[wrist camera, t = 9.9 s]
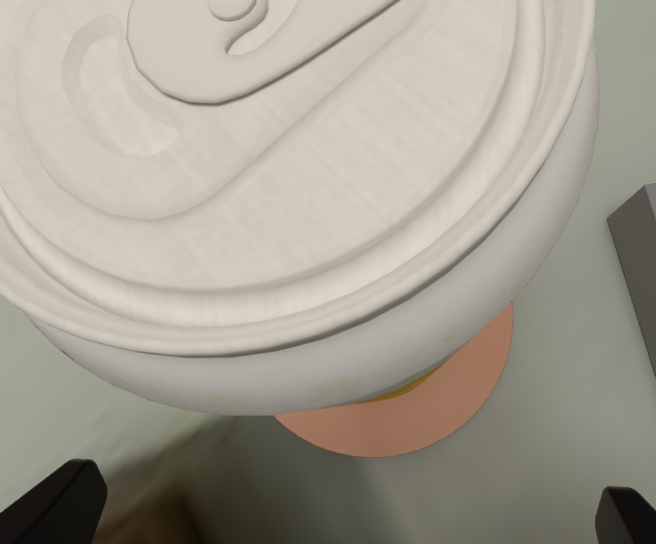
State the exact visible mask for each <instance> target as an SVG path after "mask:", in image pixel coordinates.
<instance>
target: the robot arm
mask: <svg viewBox="0 0 656 544" xmlns="http://www.w3.org/2000/svg"><path fill="white" fill-rule="evenodd" d="M106 499H107V486H106V483H105V481H104V479H103V477H102V475H101V473H100V471H99V469H98V466H97V464H96V463H95V462H94V461H93V460H91V459H72V460H69V461H68V462H66V463H65V464H63V465H62V466H61V467H60V468H58V469H57V470H56V471H54V472H53V473H52V474H50V475H49V476H48V477H46V478H45V479H44V480H43V481H41V482H40V483H39V484H37V485H36V486H35V487H33V488H32V489H31V490H30V491H28V492H27V493H26V494H24V495H23V496H22V497H20V498H19V499H18V500H17V501H15V502H14V503H13V504H11V505H10V506H9V507H7V508H6V509H5V510H4V511H2V512H1V513H0V544H91V543H92V540H93V537H94V534H95V531H96V528H97V525H98V522H99V520H100V517H101V514H102V511H103V508H104V505H105V502H106ZM595 527H596V533H597V538H598V542H599V544H656V510H655V509H654V508H653V507H652V506H651V505H650V504H649V503H648V502H647V501H646V500H645V499H644V498H643V497H642V496H641V495H640V494H639V493H638V492H637V491H636V490H634V489H632V488H629V487H616V486H607V487H606V488H605V489H604V490H603V492H602V496H601V499H600V503H599V506H598V510H597V513H596V517H595Z"/></svg>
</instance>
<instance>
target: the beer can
mask: <svg viewBox="0 0 656 544" xmlns="http://www.w3.org/2000/svg"><path fill="white" fill-rule="evenodd" d="M595 3H596V0H0V295H1V296H2V297H4V298H5V299H6V300H8V301H9V302H10V303H11V304H13V305H14V306H16V307H17V308H19V309H21V310H22V311H23V312H24V313H25V315H26V316H27V317H28V318H29V320H30V321H31V322H32V323H33V324H34V325H35V326H36V327H37V328H38V329H39V330H40V331H41V332H42V333H43V334H44V335H45V336H46V337H47V339H48V340H49V341H50V342H51V343H52V344H53V345H54V346H56V347H57V348H58V349H59V350H61V351H62V352H63V353H65V354H66V355H67V356H68V357H70V358H71V359H72V360H73V361H75V362H76V363H77V364H79V365H80V366H81V367H83V368H84V369H86V370H88V371H89V372H91V373H93V374H95V375H96V376H98V377H100V378H102V379H103V380H105V381H107V382H108V383H110V384H112V385H114V386H116V387H118V388H121V389H123V390H126V391H128V392H131V393H133V394H135V395H138V396H140V397H143V398H145V399H148V400H151V401H154V402H158V403H162V404H166V405H170V406H173V407H177V408H181V409H185V410H190V411H198V412H206V413H213V414H221V415H276V414H285V413H293V412H301V411H309V410H317V409H324V408H331V407H338V406H345V405H353V404H360V403H367V402H374V401H381V400H387V399H391V398H395V397H397V396H400V395H402V394H405V393H407V392H409V391H411V390H413V389H414V388H416V387H417V386H419V385H420V384H422V383H423V382H424V381H425V380H426V379H428V378H429V377H430V376H431V375H432V374H433V373H434V372H435V371H437V370H438V369H439V368H440V367H441V366H442V365H443V364H444V363H445V362H446V361H448V360H449V359H450V358H451V357H452V356H453V355H454V354H455V353H456V352H458V351H459V350H460V349H461V348H462V347H463V346H464V345H465V344H466V343H468V342H469V341H470V340H471V339H472V338H473V337H474V336H475V335H476V334H477V333H479V332H480V331H481V330H482V329H483V328H484V327H485V326H486V325H487V324H489V323H490V322H491V321H492V320H493V319H494V318H495V317H496V316H497V315H499V314H500V313H501V312H502V311H503V310H504V309H505V308H506V307H507V306H508V305H509V304H510V303H511V301H512V300H513V299H514V298H515V297H516V296H517V295H518V293H519V292H520V291H521V290H522V289H523V288H524V287H525V285H526V284H527V283H528V282H529V281H530V280H531V279H532V278H533V276H534V275H535V274H536V272H537V271H538V269H539V268H540V266H541V265H542V263H543V262H544V261H545V259H546V258H547V256H548V255H549V253H550V252H551V250H552V249H553V247H554V246H555V244H556V243H557V241H558V240H559V238H560V236H561V234H562V232H563V230H564V228H565V226H566V224H567V222H568V220H569V218H570V216H571V214H572V212H573V210H574V208H575V206H576V204H577V202H578V199H579V196H580V193H581V190H582V187H583V184H584V182H585V179H586V176H587V173H588V170H589V167H590V164H591V159H592V154H593V149H594V144H595V139H596V134H597V129H598V117H599V101H600V82H599V69H598V57H597V50H596V46H595V41H594V37H593V32H594V18H595Z"/></svg>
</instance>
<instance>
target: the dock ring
mask: <svg viewBox="0 0 656 544" xmlns="http://www.w3.org/2000/svg"><path fill="white" fill-rule="evenodd" d="M607 220H608V223H609V226H610V230H611V233H612V236H613V239H614V243H615V246H616V249H617V252H618V256H619V259H620V262H621V265H622V269H623V272H624V275H625V278H626V281H627V285H628V288H629V291H630V294H631V298H632V301H633V304H634V307H635V311H636V314H637V317H638V320H639V324H640V327H641V330H642V333H643V337H644V340H645V343H646V346H647V349H648V353H649V356H650V359H651V362H652V366H653V369H654V372H655V375H656V183H653V184H648V185H644V186H643V187H642V188H641V189H640V190H638V191H637V192H636V193H635V194H634V195H633V196H632V197H631V198H629V199H628V200H627V201H626V202H625V203H624V204H623V205H622V206H620V207H619V208H618V209H617V210H616V211H615V212H614V213H613V214H611V215H610V216H609V217H608V218H607Z"/></svg>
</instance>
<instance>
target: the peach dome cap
mask: <svg viewBox="0 0 656 544" xmlns="http://www.w3.org/2000/svg"><path fill="white" fill-rule="evenodd" d="M512 328H513V310H512V301H511V303H510V304H509V305H508V306H507V307H506V308H505V309H504V310H503V311H502V312H501V313H500V314H499V315H497V316H496V317H495V318H494V319H493V320H492V321H491V322H490V323H489V324H487V325H486V326H485V327H484V328H483V329H482V330H481V331H480V332H479V333H477V334H476V335H475V336H474V337H473V338H472V339H471V340H470V341H469V342H468V343H466V344H465V345H464V346H463V347H462V348H461V349H460V350H459V351H458V352H456V353H455V354H454V355H453V356H452V357H451V358H450V359H449V360H448V361H446V362H445V363H444V364H443V365H442V366H441V367H440V368H439V369H438V370H437V371H435V372H434V373H433V374H432V375H431V376H430V377H429V378H428V379H426V380H425V381H424V382H423V383H422V384H420V385H419V386H417V387H416V388H414V389H413V390H411V391H409V392H407V393H405V394H402V395H400V396H397V397H395V398H391V399H387V400H381V401H374V402H367V403H360V404H353V405H345V406H338V407H331V408H324V409H317V410H309V411H301V412H293V413H285V414H276V415H273V416H274V417H275V418H277V419H278V420H279V421H280V422H281V423H282V424H283V425H284V426H285V427H287V428H288V429H289V430H291V431H292V432H294V433H295V434H297V435H298V436H299V437H301V438H303V439H305V440H307V441H309V442H311V443H313V444H314V445H316V446H319V447H322V448H325V449H327V450H330V451H333V452H336V453H341V454H346V455H350V456H359V457H388V456H396V455H400V454H405V453H410V452H413V451H416V450H419V449H422V448H424V447H427V446H430V445H432V444H434V443H436V442H438V441H440V440H441V439H443V438H445V437H447V436H449V435H450V434H451V433H453V432H454V431H455V430H457V429H458V428H460V427H461V426H462V425H464V424H465V423H466V422H467V421H468V420H469V419H470V418H471V417H472V416H473V415H474V414H475V413H476V412H477V411H478V410H479V409H480V407H481V406H482V405H483V403H484V402H485V401H486V400H487V398H488V397H489V396H490V394H491V392H492V391H493V389H494V387H495V385H496V384H497V382H498V380H499V378H500V376H501V373H502V371H503V368H504V366H505V363H506V361H507V357H508V353H509V349H510V345H511V338H512Z"/></svg>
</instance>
